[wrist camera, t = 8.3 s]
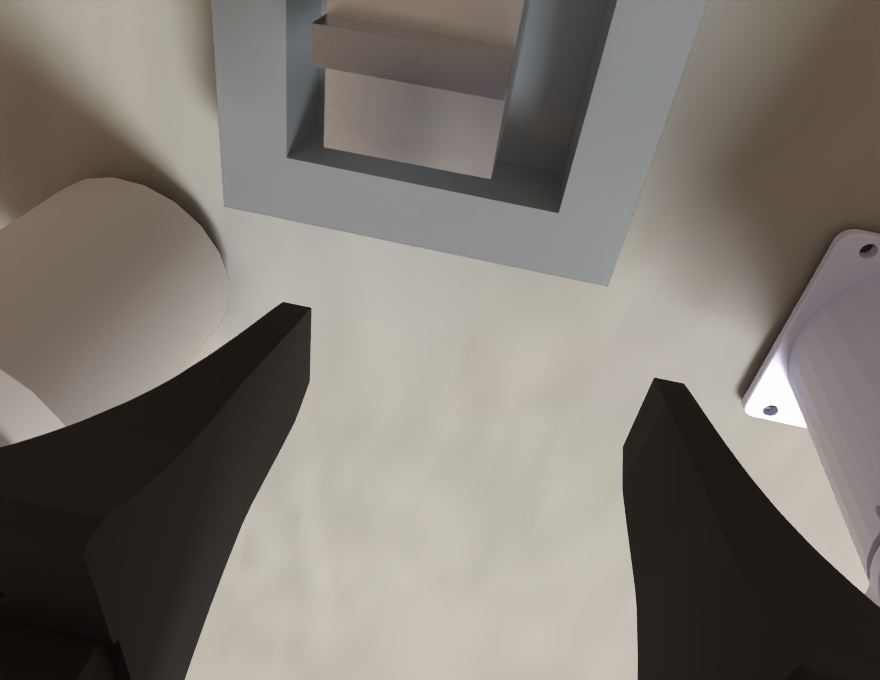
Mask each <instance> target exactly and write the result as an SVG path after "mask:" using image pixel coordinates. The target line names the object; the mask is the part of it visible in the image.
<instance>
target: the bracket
mask: <svg viewBox="0 0 880 680" xmlns="http://www.w3.org/2000/svg"><path fill="white" fill-rule="evenodd" d="M530 2H531V0H327V13H326V14H325V15H323V16H322V17H320V18H319V19H317V20H315V21H314V22H312V23H311V65H312V66H317V67H323V68H325V111H324V147H326V148H331V149H336V150H341V151H346V152H352V153H357V154H362V155H367V156H373V157H378V158H383V159H388V160H393V161H399V162H404V163H409V164H414V165H420V166H425V167H430V168H435V169H440V170H446V171H451V172H456V173H461V174H466V175H472V176H477V177H482V178H487V179H491V176H492V173H493V169H494V165H495V161H496V158H497V154H498V150H499V146H500V142H501V139H502V135H503V131H504V127H505V124H506V120H507V116H508V112H509V108H510V105H511V101H512V95H513V90H514V85H515V80H516V75H517V69H518V64H519V59H520V54H521V49H522V43H523V38H524V33H525V28H526V23H527V17H528V12H529V7H530Z"/></svg>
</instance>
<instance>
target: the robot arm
mask: <svg viewBox="0 0 880 680" xmlns="http://www.w3.org/2000/svg"><path fill="white" fill-rule="evenodd" d="M867 244H874V245H873V247H872V248H871V249H870V250H869V251H867V252H865V253H859V252H860V249H861V248H862V247H863V246H865V245H867ZM310 342H311V308H309V307H304V306H300V305H295V304H290V303H285V302H283V303H281V304H279V305H278V306H277V307H275V308H274V309H272V310H271V311H270V312H268V313H267V314H266V315H264V316H263V317H262V318H260V319H259V320H258V321H256V322H255V323H254V324H252V325H251V326H250V327H248V328H247V329H246V330H244V331H243V332H242V333H240V334H239V335H238V336H236V337H235V338H233V339H232V340H230V341H229V342H228V343H226V344H225V345H223V346H222V347H220V348H219V349H218V350H216V351H215V352H213V353H212V354H210V355H209V356H207V357H206V358H204V359H203V360H201V361H199V362H198V363H196V364H195V365H193V366H191V367H190V368H188V369H187V370H185V371H183V372H182V373H180V374H179V375H177V376H175V377H174V378H172V379H170V380H168V381H167V382H165V383H163V384H161V385H159V386H158V387H156V388H154V389H152V390H150V391H148V392H146V393H144V394H142V395H140V396H138V397H136V398H134V399H132V400H129V401H127V402H125V403H123V404H120V405H118V406H116V407H113V408H111V409H109V410H106V411H104V412H101V413H99V414H97V415H94V416H92V417H90V418H87V419H85V420H82V421H80V422H77V423H74V424H72V425H69V426H66V427H63V428H61V429H58V430H55V431H52V432H49V433H46V434H43V435H40V436H37V437H34V438H31V439H27V440H24V441H21V442H18V443H14V444H11V445H7V446H3V447H0V680H185V677H186V674H187V671H188V668H189V665H190V662H191V659H192V656H193V653H194V650H195V648H196V645H197V642H198V639H199V636H200V634H201V631H202V628H203V625H204V622H205V620H206V617H207V614H208V611H209V608H210V606H211V603H212V600H213V598H214V595H215V593H216V590H217V587H218V585H219V582H220V579H221V577H222V574H223V571H224V569H225V566H226V563H227V561H228V558H229V556H230V553H231V551H232V548H233V546H234V543H235V541H236V538H237V536H238V533H239V531H240V528H241V526H242V523H243V521H244V519H245V517H246V515H247V513H248V511H249V508H250V506H251V504H252V502H253V501H254V499H255V497H256V495H257V493H258V491H259V489H260V487H261V485H262V483H263V482H264V480H265V478H266V476H267V474H268V472H269V470H270V468H271V466H272V465H273V463H274V461H275V459H276V457H277V455H278V453H279V451H280V449H281V447H282V445H283V444H284V442H285V440H286V438H287V436H288V434H289V432H290V430H291V428H292V426H293V424H294V422H295V420H296V417H297V414H298V412H299V409H300V407H301V404H302V401H303V398H304V395H305V393H306V390H307V387H308V384H309V381H310ZM770 405H774V407H773V408H770V409H765V407H767V406H770ZM742 406H743V410H744V412H745V413H746V414H747V415H750V416H753V417H757V418H762V419H767V420H771V421H776V422H781V423H785V424H790V425H794V426H799V427H804V428H808V430H809V433H810V435H811V438H812V440H813V443H814V445H815V448H816V450H817V453H818V455H819V458H820V460H821V463H822V465H823V468H824V470H825V473H826V475H827V478H828V480H829V483H830V485H831V488H832V490H833V493H834V495H835V498H836V500H837V503H838V505H839V508H840V510H841V513H842V515H843V518H844V520H845V523H846V525H847V528H848V530H849V533H850V535H851V538H852V540H853V543H854V545H855V547H856V550H857V552H858V555H859V557H860V560H861V562H862V565H863V567H864V570H865V572H866V575H867V577H868V580H869V588H868V590H867V592H866V593H865V594H863V593H862V592H861V591H860V590H859V589H858V588H856V587H855V586H854V585H853V584H852V583H851V582H850V581H849V580H847V579H846V578H845V577H844V576H843V575H842V574H841V573H840V572H839V571H838V570H837V569H835V568H834V567H833V566H832V565H831V564H830V563H829V562H828V561H827V560H826V559H825V558H824V557H822V556H821V555H820V554H819V553H818V552H817V551H816V550H815V549H814V548H813V547H812V546H811V545H810V544H809V543H808V542H807V541H806V540H805V539H804V538H803V536H802V535H801V534H800V533H799V532H798V531H797V530H796V529H795V528H794V527H793V526H792V525H791V524H790V523H789V522H788V521H787V520H786V519H785V517H784V516H783V515H782V514H781V513H780V512H779V511H778V510H777V508H776V507H775V506H774V505H773V504H772V503H771V502H770V500H769V499H768V498H767V497H766V496H765V494H764V493H763V492H762V491H761V489H760V488H759V487H758V486H757V485H756V483H755V482H754V481H753V480H752V478H751V477H750V476H749V475H748V473H747V472H746V471H745V469H744V468H743V467H742V465H741V464H740V463H739V462H738V460H737V459H736V457H735V456H734V455H733V453H732V452H731V451H730V449H729V448H728V447H727V445H726V444H725V442H724V441H723V440H722V438H721V437H720V435H719V434H718V432H717V431H716V430H715V428H714V427H713V425H712V424H711V422H710V421H709V419H708V418H707V416H706V415H705V413H704V412H703V411H702V409H701V408H700V406H699V405H698V403H697V402H696V400H695V399H694V397H693V396H692V394H691V393H690V392H689V390H688V389H687V387H686V386H685V385H684V384H683V383H678V382H673V381H668V380H663V379H658V378H654V379H653V382H652V384H651V386H650V388H649V390H648V393H647V395H646V397H645V399H644V401H643V404H642V406H641V408H640V410H639V413H638V415H637V417H636V419H635V421H634V424H633V426H632V428H631V430H630V432H629V435H628V437H627V439H626V441H625V444H624V446H623V497H624V506H625V514H626V522H627V530H628V537H629V545H630V552H631V560H632V568H633V575H634V583H635V592H636V604H637V635H638V680H880V234H879V233H874V232H869V231H864V230H859V229H849V230H845V231H843V232H841V233H840V234H838V235H837V236H836V237H835V239H834V240H833V241H832V243H831V245H830V247H829V248H828V250H827V252H826V254H825V256H824V257H823V259H822V261H821V263H820V264H819V266H818V268H817V270H816V271H815V273H814V275H813V277H812V278H811V280H810V282H809V284H808V285H807V287H806V289H805V291H804V292H803V294H802V296H801V298H800V299H799V301H798V303H797V305H796V306H795V308H794V310H793V312H792V313H791V315H790V317H789V319H788V320H787V322H786V324H785V326H784V327H783V329H782V331H781V333H780V334H779V336H778V338H777V340H776V341H775V343H774V345H773V347H772V348H771V350H770V352H769V354H768V355H767V357H766V359H765V361H764V362H763V364H762V366H761V368H760V369H759V371H758V373H757V375H756V376H755V378H754V380H753V382H752V383H751V385H750V387H749V389H748V390H747V392H746V394H745V396H744V397H743V399H742Z"/></svg>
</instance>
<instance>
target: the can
mask: <svg viewBox="0 0 880 680" xmlns="http://www.w3.org/2000/svg"><path fill="white" fill-rule="evenodd" d="M228 305H229V279H228V276H227V273H226V270H225V267H224V264H223V261H222V259H221V256H220V253H219V251H218V250H217V248H216V247H215V245H214V244H213V242H212V241H211V240H210V238H209V237H208V235H207V234H206V232H205V231H204V229H203V228H202V226H201V225H200V224H199V223H197V222H196V221H195V220H194V219H193V218H192V217H191V216H190V215H189V214H187V213H186V212H185V211H184V210H183V209H182V208H181V207H180V206H179V205H177V204H176V203H175V202H174V201H172V200H170V199H168V198H166V197H165V196H163V195H161V194H159V193H157V192H155V191H154V190H152V189H150V188H148V187H146V186H145V185H141V184H137V183H133V182H129V181H126V180H122V179H118V178H114V177H107V178H89V179H83V180H81V181H79V182H76V183H74V184H72V185H70V186H68V187H66V188H64V189H62V190H61V191H59V192H58V193H56V194H54V195H53V196H51V197H50V198H48V199H47V200H45V201H44V202H42V203H41V204H39V205H38V206H36V207H35V208H33V209H31V210H30V211H28V212H27V213H25V214H24V215H22V216H21V217H19V218H18V219H16V220H15V221H13V222H12V223H10V224H8V225H7V226H5V227H4V228H2V229H1V230H0V447H3V446H7V445H11V444H14V443H18V442H21V441H24V440H27V439H31V438H34V437H37V436H40V435H43V434H46V433H49V432H52V431H55V430H58V429H61V428H63V427H66V426H69V425H72V424H74V423H77V422H80V421H82V420H85V419H87V418H90V417H92V416H94V415H97V414H99V413H101V412H104V411H106V410H109V409H111V408H113V407H116V406H118V405H120V404H123V403H125V402H127V401H129V400H132V399H134V398H136V397H138V396H140V395H142V394H144V393H146V392H148V391H150V390H152V389H154V388H156V387H158V386H159V385H161V384H163V383H165V382H167V381H168V380H170V379H172V378H174V377H175V376H177V375H179V374H180V373H182V372H183V371H185V370H186V369H187V367H188V366H189V365H190V363H191V362H192V361H193V359H194V358H195V357H196V355H197V354H198V353H199V351H200V350H201V349H202V347H203V346H204V345H205V343H206V342H207V341H208V339H209V338H210V337H211V336H212V334H213V333H214V332H215V330H216V329H217V328H218V326H219V325H220V324H221V321H222V319H223V317H224V314H225V312H226V310H227V307H228Z"/></svg>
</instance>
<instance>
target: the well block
mask: <svg viewBox="0 0 880 680" xmlns="http://www.w3.org/2000/svg"><path fill="white" fill-rule="evenodd" d="M707 3H708V0H531V2H530V7H529V12H528V17H527V23H526V28H525V33H524V38H523V43H522V49H521V54H520V59H519V64H518V69H517V75H516V80H515V85H514V90H513V95H512V101H511V105H510V108H509V112H508V116H507V120H506V124H505V127H504V131H503V135H502V139H501V142H500V146H499V150H498V154H497V158H496V161H495V165H494V169H493V173H492V176H491V179H487V178H482V177H477V176H472V175H466V174H461V173H456V172H451V171H446V170H440V169H435V168H430V167H425V166H420V165H414V164H409V163H404V162H399V161H393V160H388V159H383V158H378V157H373V156H367V155H362V154H357V153H352V152H346V151H341V150H336V149H331V148H326V147H324V111H325V68H323V67H317V66H312V65H311V23H312V22H314V21H315V20H317V19H319V18H320V17H322V16H323V15H325V14H326V13H327V0H211V13H212V28H213V43H214V58H215V74H216V89H217V104H218V119H219V135H220V150H221V165H222V180H223V196H224V207H229V208H233V209H238V210H243V211H248V212H253V213H257V214H262V215H267V216H272V217H277V218H281V219H286V220H291V221H296V222H301V223H305V224H310V225H315V226H320V227H325V228H329V229H334V230H339V231H344V232H349V233H353V234H358V235H363V236H368V237H373V238H377V239H382V240H387V241H392V242H397V243H401V244H406V245H411V246H416V247H421V248H425V249H430V250H435V251H440V252H445V253H449V254H454V255H459V256H464V257H469V258H473V259H478V260H483V261H488V262H493V263H497V264H502V265H507V266H512V267H517V268H521V269H526V270H531V271H536V272H540V273H545V274H550V275H555V276H560V277H564V278H569V279H574V280H579V281H584V282H588V283H593V284H598V285H603V286H608V285H609V282H610V279H611V276H612V273H613V270H614V267H615V265H616V262H617V259H618V256H619V253H620V250H621V248H622V245H623V242H624V239H625V236H626V233H627V230H628V228H629V225H630V222H631V219H632V216H633V213H634V211H635V208H636V205H637V202H638V199H639V196H640V194H641V191H642V188H643V185H644V182H645V179H646V176H647V174H648V171H649V168H650V165H651V162H652V159H653V157H654V154H655V151H656V148H657V145H658V142H659V139H660V137H661V134H662V131H663V128H664V125H665V122H666V120H667V117H668V114H669V111H670V108H671V105H672V102H673V100H674V97H675V94H676V91H677V88H678V85H679V83H680V80H681V77H682V74H683V71H684V68H685V66H686V63H687V60H688V57H689V54H690V51H691V48H692V46H693V43H694V40H695V37H696V34H697V31H698V29H699V26H700V23H701V20H702V17H703V14H704V11H705V9H706V6H707Z"/></svg>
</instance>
